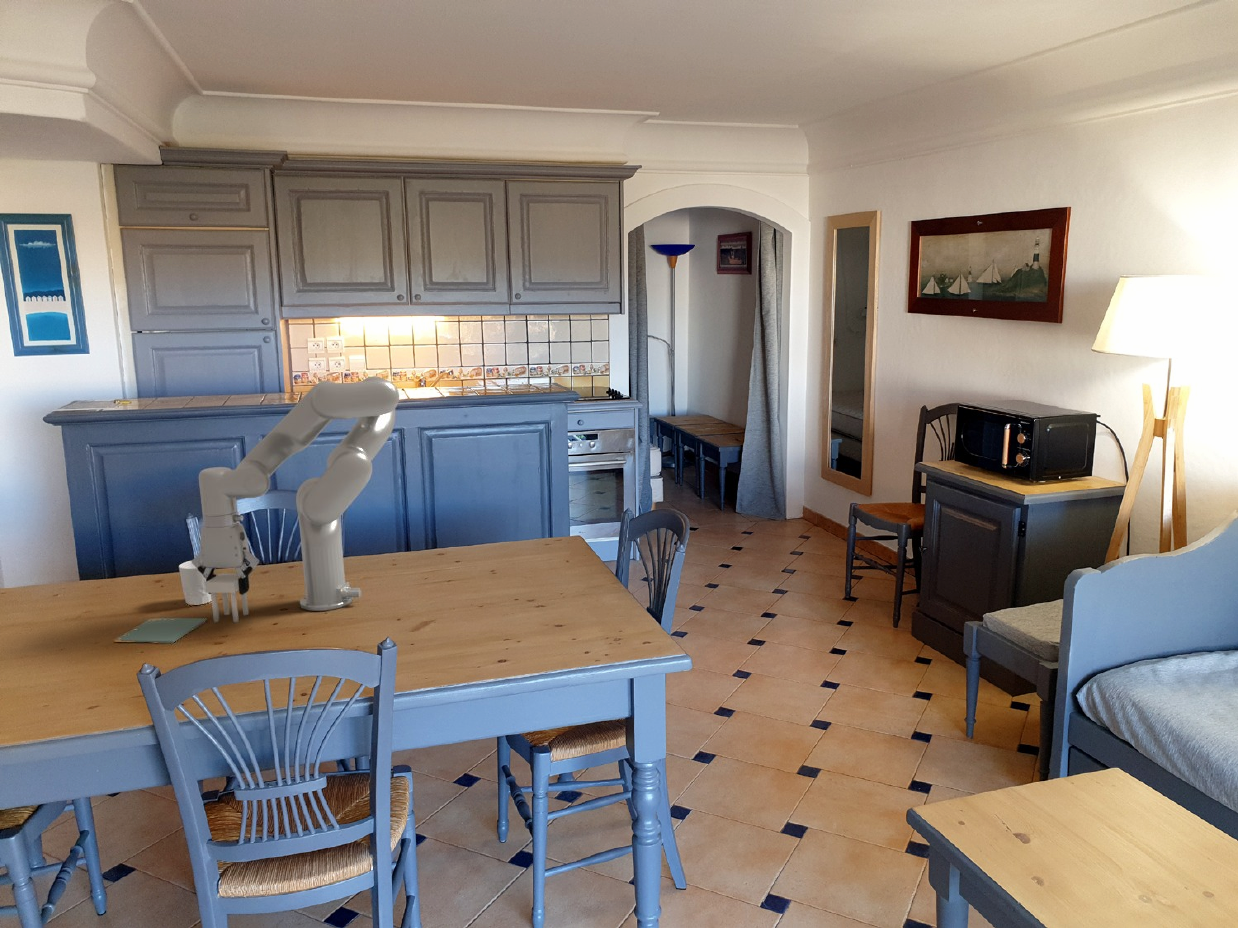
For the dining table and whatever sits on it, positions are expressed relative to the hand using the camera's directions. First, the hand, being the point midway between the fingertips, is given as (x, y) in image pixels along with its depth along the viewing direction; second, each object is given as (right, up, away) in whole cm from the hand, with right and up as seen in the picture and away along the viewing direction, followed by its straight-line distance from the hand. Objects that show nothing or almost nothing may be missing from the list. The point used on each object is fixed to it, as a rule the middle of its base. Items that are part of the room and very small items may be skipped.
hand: (228, 591), depth 214 cm
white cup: (-13, -5, +13) cm, 19 cm away
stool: (0, -6, +1) cm, 6 cm away
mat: (-13, -8, -7) cm, 16 cm away
